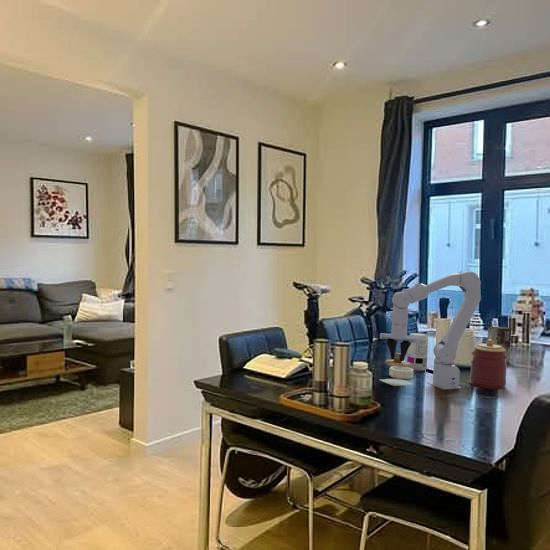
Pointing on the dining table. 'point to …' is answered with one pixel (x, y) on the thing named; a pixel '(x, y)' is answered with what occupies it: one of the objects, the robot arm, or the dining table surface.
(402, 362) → the lid
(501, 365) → the canister
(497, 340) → the coffee box
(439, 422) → the dining table surface
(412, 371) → the bowl
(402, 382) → the mat
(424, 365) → the supplement can
